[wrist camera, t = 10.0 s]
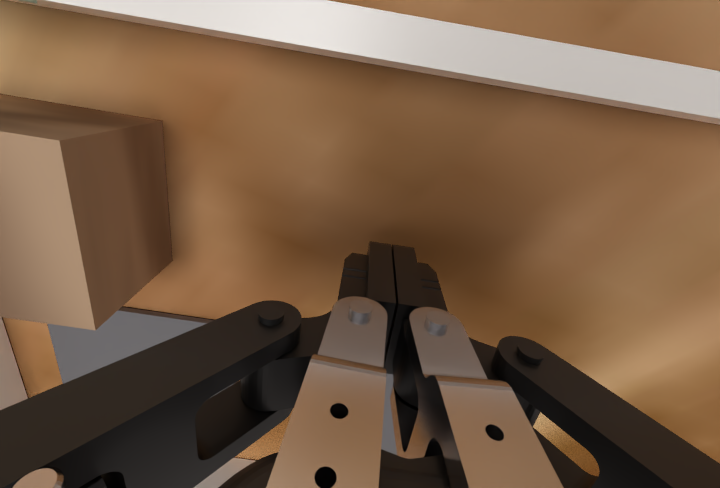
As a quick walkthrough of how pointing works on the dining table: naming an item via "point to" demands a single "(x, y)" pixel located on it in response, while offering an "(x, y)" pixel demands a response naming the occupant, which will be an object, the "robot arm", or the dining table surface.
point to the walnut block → (78, 211)
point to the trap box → (380, 47)
